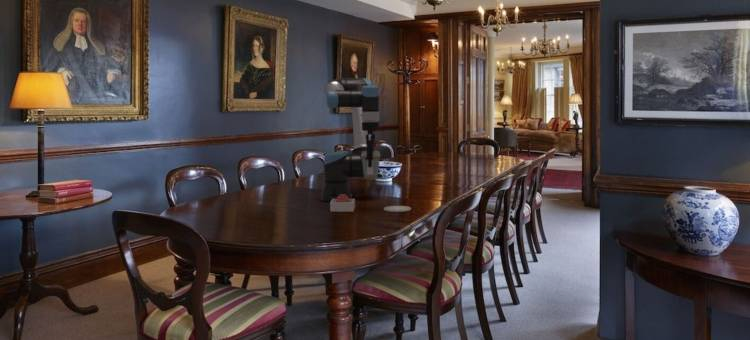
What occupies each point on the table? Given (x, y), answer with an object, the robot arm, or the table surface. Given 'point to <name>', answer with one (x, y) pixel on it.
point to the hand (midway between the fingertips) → (370, 173)
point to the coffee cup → (375, 164)
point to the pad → (397, 208)
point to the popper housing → (342, 206)
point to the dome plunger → (343, 198)
